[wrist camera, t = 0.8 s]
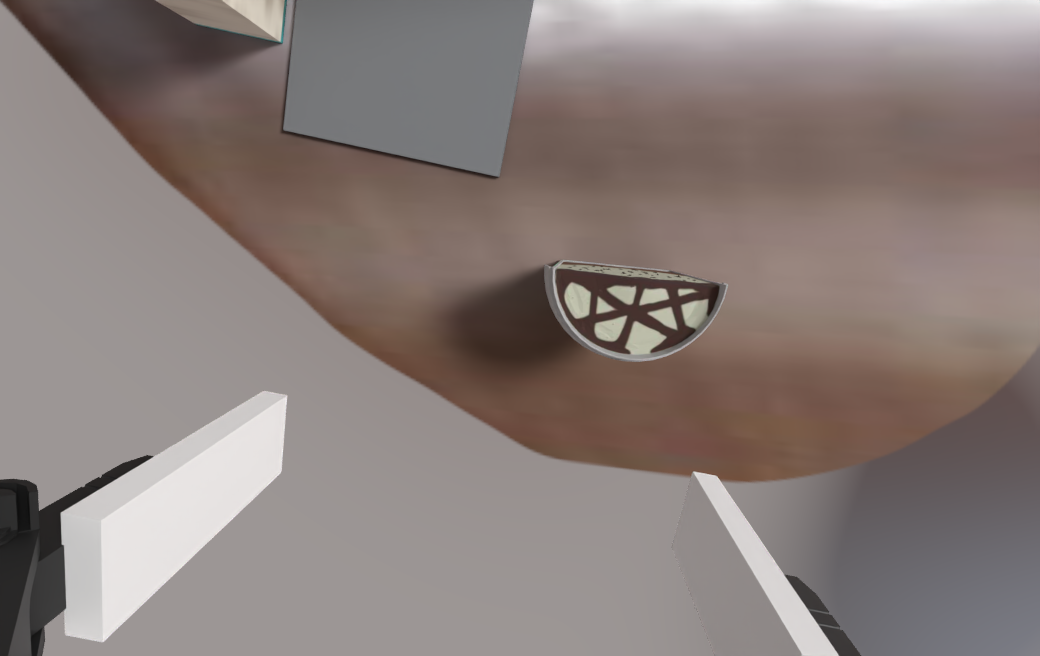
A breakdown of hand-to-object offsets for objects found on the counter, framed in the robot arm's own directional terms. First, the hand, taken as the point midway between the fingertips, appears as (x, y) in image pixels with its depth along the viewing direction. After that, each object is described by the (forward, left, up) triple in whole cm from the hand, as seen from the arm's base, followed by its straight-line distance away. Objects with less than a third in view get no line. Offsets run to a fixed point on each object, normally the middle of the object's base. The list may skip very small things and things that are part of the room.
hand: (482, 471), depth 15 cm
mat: (-21, -13, -27) cm, 37 cm away
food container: (-3, +7, -28) cm, 29 cm away
